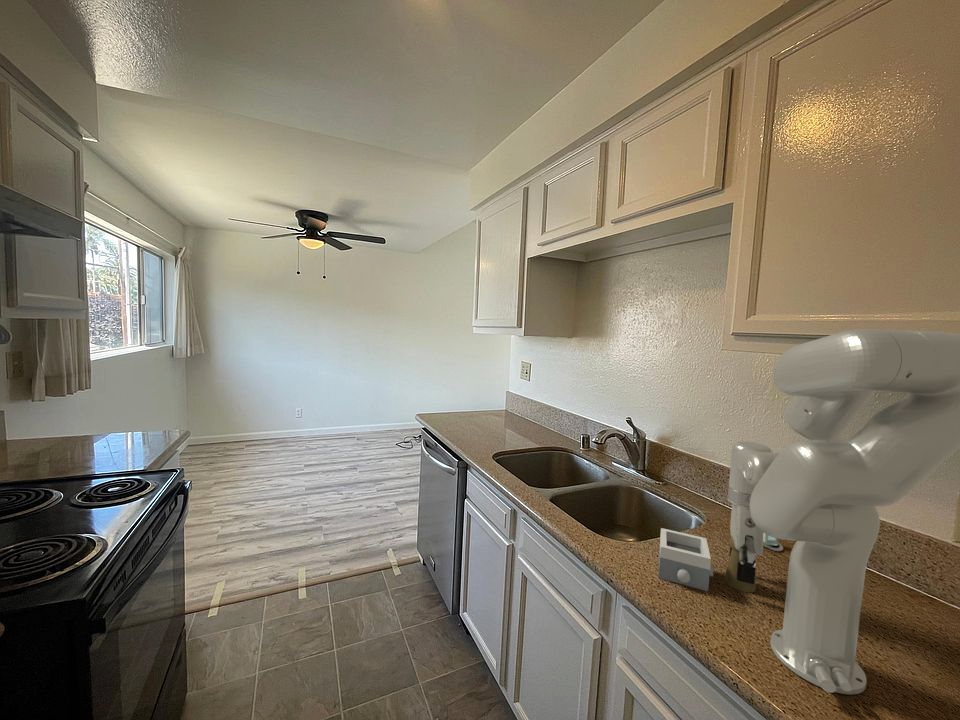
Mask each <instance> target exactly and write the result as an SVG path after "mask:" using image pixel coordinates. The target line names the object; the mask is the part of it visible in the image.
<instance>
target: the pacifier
mask: <svg viewBox="0 0 960 720" xmlns="http://www.w3.org/2000/svg"><path fill="white" fill-rule="evenodd" d="M773 546H778V547H773ZM763 547H765V548H767V549H768V550H771V551H773V552H781V551H783V550H784V545H783V544H781V542H779V541H778V539H777V538H774V537H771V536H769V535H767V534H765V533H764V534H763Z"/></svg>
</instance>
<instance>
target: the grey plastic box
mask: <svg viewBox="0 0 960 720" xmlns="http://www.w3.org/2000/svg"><path fill="white" fill-rule="evenodd" d="M659 537H660V538H659V550H658V551H659V552H658V579H661V580H664V581H669V582H672V583H676V584H680V585H683V586H687V587H689V588H693V589H698V590H701V591H705V592H709V587H710V586H709V584H710V577H714V563H713V564H712V563H711V561H712V558H711V554H710V550H709V546H708V545H709V544H708V540H707V537H701V536H698V535H693V534H691V533H690V534H688V533H685V532H680V531H676V530H671V529H668V528H667V529H666V528H662V527H660V536H659Z"/></svg>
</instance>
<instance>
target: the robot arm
mask: <svg viewBox="0 0 960 720" xmlns="http://www.w3.org/2000/svg"><path fill="white" fill-rule="evenodd" d="M772 375H773V376H772V378H773V381H774V385H775V386H776V388H777V389H778V390H779V391H780V392H781V393H783V394H785V395H787V396H790V397H792V396H793V397H792V399H791V400H790V402H789V404H788V405H787V406H786V407H785V409H784V411H783V419H784V420H785V423H786V424H787V425H788V426H789V428H791V430H793V431H794V432H795V433H797V434H798V435H800V436H801V437H802V438H805V439H803V440H797V441H795V442H792V443H790V444H788V445H787V446H785V447H783V448H782V450H780V452H773V451H772V449H771V448H770V447H769V446H766V445H764V444H761V443H758V442H752V441H744V440H743V441H737V442H735V443H734V444H733V445H732V447H731V457H730V468H729V480H728V490H727V501H728V502H729V503H731V511H730V512H731V513H730V514H731V515H730V529H729V530H730V532H729V533H730V536H731V537H733V540H734V545H735V548H736V549H737V550H738V551H739V558H740V562H738V566H737V580H738V581H742V582H746V583H750V584H754V582H755V583H756V569H757V563H756V562H757V560H756V555H757V556H758V557H761V556H762V555H764V554H763V551H764V546H763V534H764V533H765V534H767V535H769V536H771V537H774V538H776V539H777V540H783V541H793V542H794V545H793V547H792V549H791V551H790V555H789V563H788V573H787V580H786V591H785V592H786V593H785V601H784V602H785V604H784V612H783V613H784V614H783V620H782V621H783V622H782V623H783V624H782V629H777V630H774V631H773V632H772V633H771V635H770V647H771V650H772V652H773V653H774V655H775V656H776V657H777V659H779V661H780V662H781V663H782V664H783V665H784V666H786V667H787V669H789V670H791V671H792V672H793V673H794V674H796V675H797V676H799V677H801V678H802V679H803V680H805V681H806V682H809V683H811V684H813V685H815V686H816V687H819V688H821V689H822V690H823V691H825V692H826V693H836V694H837V693H838V694H841V695H853V696H854V695H859V694H861V693H863V692H864V691H865V690H866V688H867V676H866V674H865V671H864V670H863V669H862V667H861V666H860V665H859V664H858V662H856V654H857V645H858V639H859V638H858V636H859V629H860V628H859V627H860V619H861V610H862V600H863V594H864V593H863V592H864V586H865V578H866V571H867V566H868V561H869V558H870V555H871V552H872V550H873V548H874V546H875V543H876V541H877V538H878V536H879V532H880V528H881V527H880V526H881V520H880V515H879V512H878V510H877V508H876V507H886V506H887V507H888V506H890V505H894V504H896V503H898V502H899V501H900V500H902V499H903V498H904V497H905V496H907V495H908V494H909V493H910V492H911V491H913V490H914V489H915V488H916V487H917V486H918V485H919V484H921V483H922V482H923V481H924V480H925V479H926V478H928V477H929V476H930V475H931V474H932V473H934V472H935V470H936V469H939V467H940V466H941V465H942V464H943V463H944V462H945V461H946V460H948V458H950V457H951V456H952V455H953V454H954V453H955V452H956V451H958V450H959V449H960V333H955V332H948V331H947V332H946V331H936V330H935V331H934V330H933V331H930V330H904V329H902V330H901V329H878V328H857V329H851V330H850V329H849V330H844V331H840V332H837V333H833V334H830V335H827V336H824V337H821V338H820V337H819V338H818V339H817V338H816V339H814V340H810V341H808V342H803V343H800V344H797V345H795V346H793V347H790V348H789V349H787V350H786V351H785V352H784V353H783V354H780V357H778V359H777V361H776V362H775V364H774V367H773V374H772ZM876 392H889V393H910V394H908V395H907V396H906V397H904V398H902V399H901V400H899V401H896V402H894V403H892V404H890V405H888V406H887V407H884V408H883V409H881V410H880V411H878V412H876V413H875V414H874V415H873V416H872V417H871V418H869V420H868V421H867V422H866V424H865V425H864V426H863V427H862V428H861V429H860V430H859V431H858V432H857V433H855V435H854V436H852V437H850V438H847V439H843V438H842V436H841V434H842V432H844V430H846V428H847V427H848V425H850V423H851V422H852V421H853V420H854V418H855V417H856V416H857V415H858V413H860V411H861V410H862V409H864V407H865V406H866V404H867V403H868V402H869V401H870V399H871V398H872V397H873V396H874V394H875V393H876ZM731 537H730V538H731ZM742 547H744V548H747V550H746V549H742ZM731 551H732V548H731V546H729V556H730V555H731ZM755 552H756V554H755ZM743 553H745V554H747V556H745V557H744V558H743Z"/></svg>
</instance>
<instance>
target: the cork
mask: <svg viewBox="0 0 960 720" xmlns="http://www.w3.org/2000/svg"><path fill="white" fill-rule="evenodd" d="M729 545H730V546H731V548H732V551H731V555H730V554H729V559H728V563H727V567H726V571H725V574H724V582H725V583H726V584H727V585H728V586H730V587H732V589H735V590H738V591H739V592H744V593H754V592H756V590H757V585H756V584H757V583H756V581H755V582H754V584H750V583H746V582H742V581H738V580H737V566H738V562H740V558H739V551H738V550H737V549H736V548H735V545H734V540H733V537H730V540H729ZM730 546H729V547H730ZM742 549H746V550H747V548H744V547H742ZM755 554H756V552H755ZM756 555H757V554H756ZM745 556H747V554H745V553H743V558H744V557H745Z"/></svg>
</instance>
